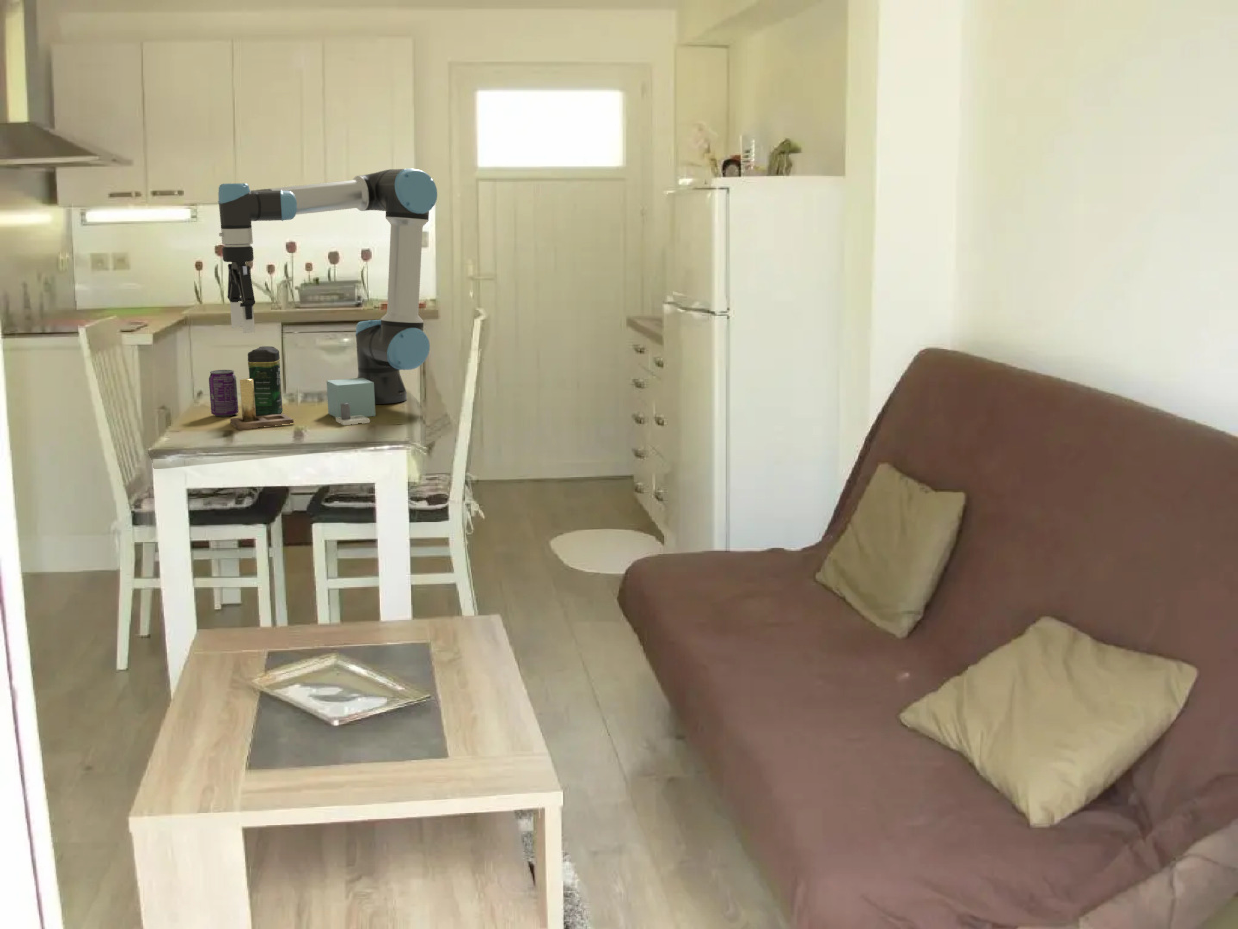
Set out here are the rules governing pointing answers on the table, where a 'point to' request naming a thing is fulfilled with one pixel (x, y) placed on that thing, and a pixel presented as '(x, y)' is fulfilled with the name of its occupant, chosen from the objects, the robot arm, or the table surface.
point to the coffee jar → (266, 380)
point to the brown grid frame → (262, 421)
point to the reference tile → (348, 419)
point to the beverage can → (223, 393)
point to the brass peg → (247, 400)
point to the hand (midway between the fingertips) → (243, 329)
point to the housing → (351, 396)
